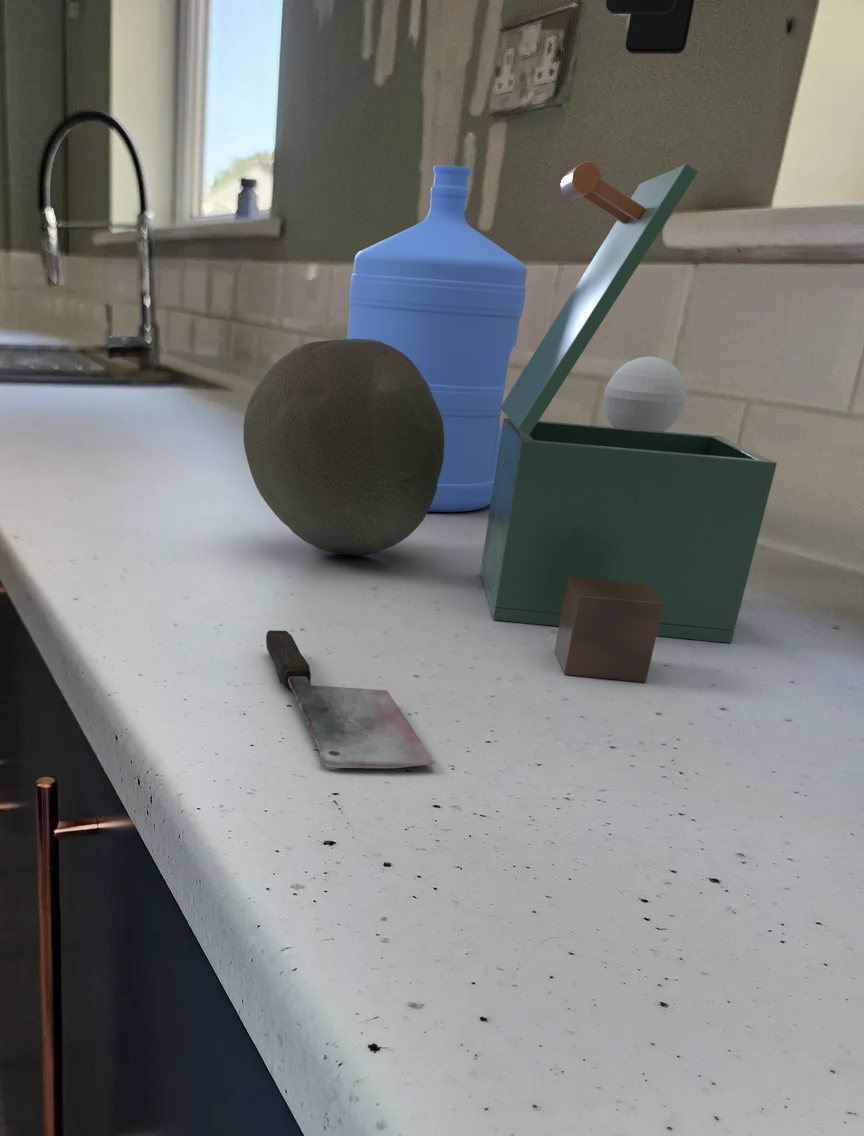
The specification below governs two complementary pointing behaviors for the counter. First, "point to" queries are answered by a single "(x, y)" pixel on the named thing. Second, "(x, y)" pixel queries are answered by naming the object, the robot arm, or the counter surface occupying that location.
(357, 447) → the cantaloupe
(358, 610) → the counter surface
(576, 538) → the green box
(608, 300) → the lid
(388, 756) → the cleaver
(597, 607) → the tea block
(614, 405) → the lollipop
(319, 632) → the counter surface
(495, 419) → the water jug
